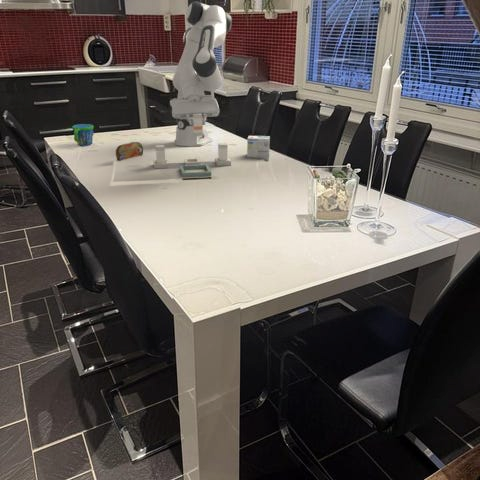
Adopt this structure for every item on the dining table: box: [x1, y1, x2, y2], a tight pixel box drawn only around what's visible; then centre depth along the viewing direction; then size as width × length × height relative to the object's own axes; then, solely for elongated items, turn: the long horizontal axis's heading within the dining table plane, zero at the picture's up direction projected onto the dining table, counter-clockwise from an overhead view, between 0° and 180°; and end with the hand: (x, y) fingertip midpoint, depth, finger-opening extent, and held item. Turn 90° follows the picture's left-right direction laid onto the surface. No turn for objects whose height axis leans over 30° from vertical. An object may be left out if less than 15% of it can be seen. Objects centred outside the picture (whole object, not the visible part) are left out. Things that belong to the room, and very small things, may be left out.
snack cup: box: [71, 123, 95, 147], centre depth 248 cm, size 16×10×10 cm
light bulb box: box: [246, 135, 271, 161], centre depth 226 cm, size 11×7×11 cm, turn 84°
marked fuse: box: [192, 113, 204, 137], centre depth 197 cm, size 4×4×9 cm
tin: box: [115, 141, 144, 161], centre depth 220 cm, size 15×3×8 cm, turn 143°
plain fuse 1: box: [155, 144, 166, 163], centre depth 206 cm, size 4×4×9 cm
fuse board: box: [153, 156, 232, 170], centre depth 210 cm, size 9×34×4 cm, turn 102°
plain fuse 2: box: [217, 142, 228, 161], centre depth 211 cm, size 4×4×9 cm
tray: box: [179, 165, 212, 181], centre depth 200 cm, size 12×12×3 cm
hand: (197, 124), depth 196 cm, fingers closed on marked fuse, 4 cm apart
